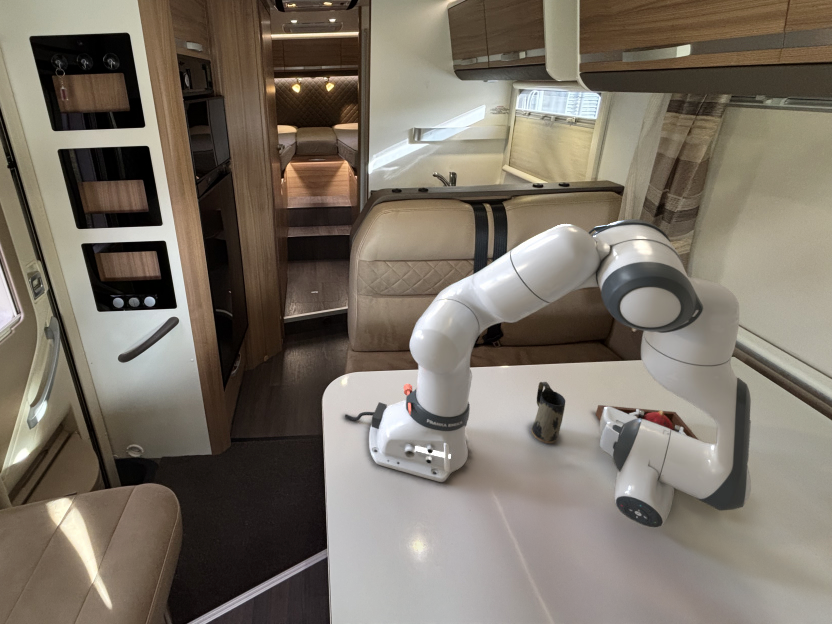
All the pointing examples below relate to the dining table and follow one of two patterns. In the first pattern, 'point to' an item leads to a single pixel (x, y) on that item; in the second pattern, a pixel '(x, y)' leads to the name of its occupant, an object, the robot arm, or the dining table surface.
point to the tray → (670, 415)
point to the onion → (659, 419)
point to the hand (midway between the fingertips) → (658, 419)
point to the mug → (548, 414)
